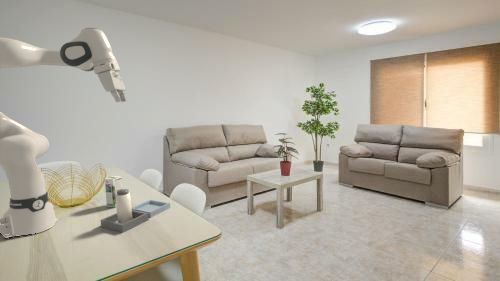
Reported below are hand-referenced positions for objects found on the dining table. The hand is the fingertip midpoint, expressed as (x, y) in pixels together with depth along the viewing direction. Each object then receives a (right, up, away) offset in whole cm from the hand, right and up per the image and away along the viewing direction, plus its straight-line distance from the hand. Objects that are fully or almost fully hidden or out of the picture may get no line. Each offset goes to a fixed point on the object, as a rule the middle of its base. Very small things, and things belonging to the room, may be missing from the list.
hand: (121, 101), depth 113 cm
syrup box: (-14, -49, +23) cm, 56 cm away
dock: (+1, -51, +1) cm, 51 cm away
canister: (+1, -51, +1) cm, 51 cm away
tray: (+7, -49, +15) cm, 52 cm away
